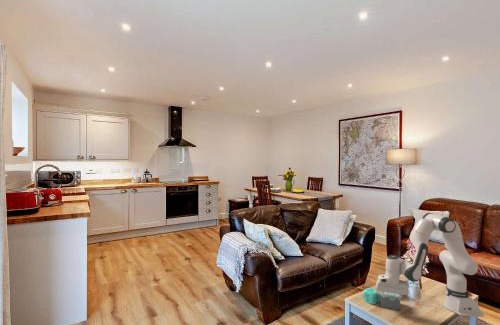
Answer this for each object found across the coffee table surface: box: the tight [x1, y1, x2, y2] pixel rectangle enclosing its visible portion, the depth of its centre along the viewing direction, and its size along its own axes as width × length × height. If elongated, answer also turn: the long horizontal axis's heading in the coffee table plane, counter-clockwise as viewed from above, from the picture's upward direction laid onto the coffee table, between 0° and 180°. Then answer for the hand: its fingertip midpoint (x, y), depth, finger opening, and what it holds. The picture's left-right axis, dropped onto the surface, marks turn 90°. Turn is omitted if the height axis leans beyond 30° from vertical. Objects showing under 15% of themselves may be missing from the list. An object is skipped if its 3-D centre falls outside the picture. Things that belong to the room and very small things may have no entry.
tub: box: [378, 291, 401, 311], centre depth 196 cm, size 12×10×8 cm
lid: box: [378, 291, 400, 301], centre depth 194 cm, size 13×15×3 cm
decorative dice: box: [362, 287, 379, 305], centre depth 200 cm, size 8×8×8 cm
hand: (391, 298), depth 189 cm, fingers open, 8 cm apart
